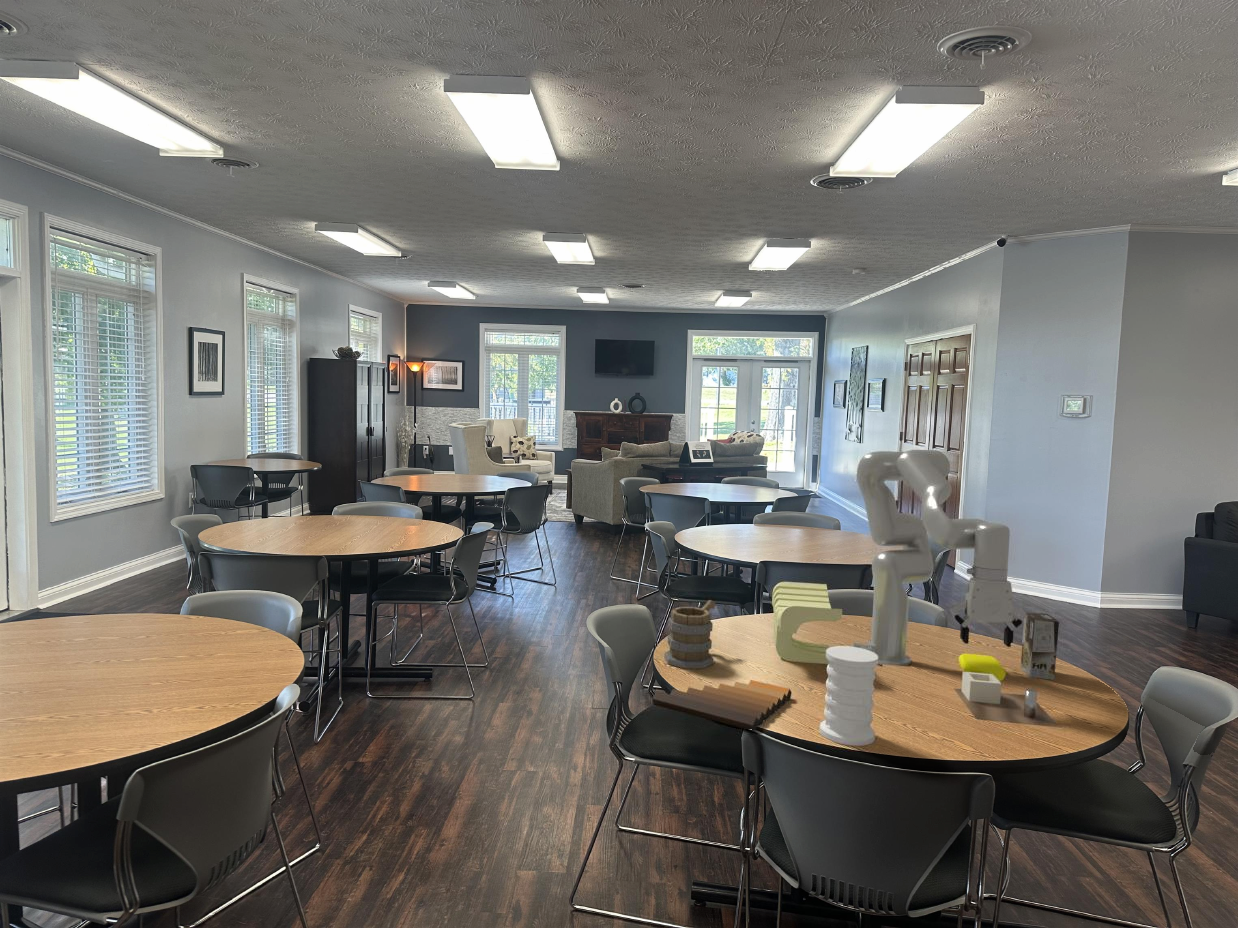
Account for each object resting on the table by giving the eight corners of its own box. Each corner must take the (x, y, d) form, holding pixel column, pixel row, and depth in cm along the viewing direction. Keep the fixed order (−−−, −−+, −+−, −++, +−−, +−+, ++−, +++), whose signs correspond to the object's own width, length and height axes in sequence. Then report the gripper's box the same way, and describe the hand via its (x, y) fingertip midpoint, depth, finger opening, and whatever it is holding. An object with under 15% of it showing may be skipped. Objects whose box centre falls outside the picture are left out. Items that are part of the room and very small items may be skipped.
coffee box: (1055, 680, 212) (1060, 621, 211) (1029, 677, 213) (1034, 619, 212) (1044, 669, 221) (1048, 613, 220) (1019, 666, 222) (1024, 611, 221)
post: (1025, 717, 180) (1027, 692, 179) (1022, 713, 182) (1024, 688, 182) (1036, 718, 180) (1038, 693, 179) (1033, 714, 182) (1035, 689, 181)
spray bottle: (996, 666, 223) (1020, 698, 199) (955, 661, 226) (974, 692, 202) (996, 656, 223) (1021, 686, 199) (956, 651, 225) (975, 681, 201)
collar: (969, 701, 189) (970, 680, 189) (961, 690, 196) (962, 671, 196) (999, 703, 188) (1001, 683, 188) (991, 693, 195) (992, 674, 195)
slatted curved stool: (770, 637, 241) (773, 580, 240) (823, 641, 239) (826, 584, 238) (777, 669, 211) (781, 604, 210) (838, 674, 209) (842, 609, 208)
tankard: (696, 672, 207) (698, 616, 206) (656, 661, 214) (659, 607, 213) (732, 654, 223) (735, 603, 222) (695, 645, 230) (697, 595, 229)
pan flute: (651, 707, 183) (752, 734, 170) (652, 693, 182) (753, 719, 169) (698, 677, 204) (791, 700, 191) (699, 665, 204) (791, 686, 190)
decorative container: (837, 719, 178) (842, 642, 177) (884, 736, 170) (890, 655, 169) (809, 732, 170) (813, 651, 169) (857, 750, 162) (862, 666, 161)
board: (975, 725, 178) (976, 718, 178) (953, 694, 198) (953, 688, 198) (1060, 733, 175) (1061, 727, 175) (1029, 701, 195) (1029, 695, 195)
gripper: (956, 574, 187) (952, 645, 188) (1033, 579, 185) (1029, 650, 185) (948, 569, 195) (944, 637, 196) (1022, 573, 192) (1018, 642, 193)
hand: (986, 643), depth 191 cm, fingers open, 9 cm apart
